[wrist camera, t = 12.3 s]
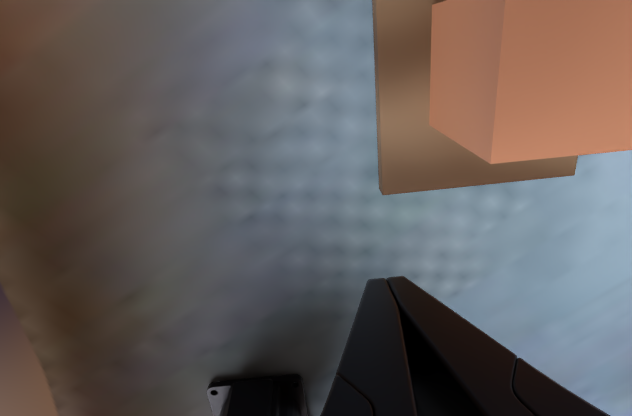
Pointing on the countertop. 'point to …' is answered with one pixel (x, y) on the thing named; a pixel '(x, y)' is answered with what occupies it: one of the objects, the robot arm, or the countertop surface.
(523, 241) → the countertop surface
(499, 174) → the stand
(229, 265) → the countertop surface
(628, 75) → the salmon orange block
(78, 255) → the countertop surface
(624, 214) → the countertop surface
